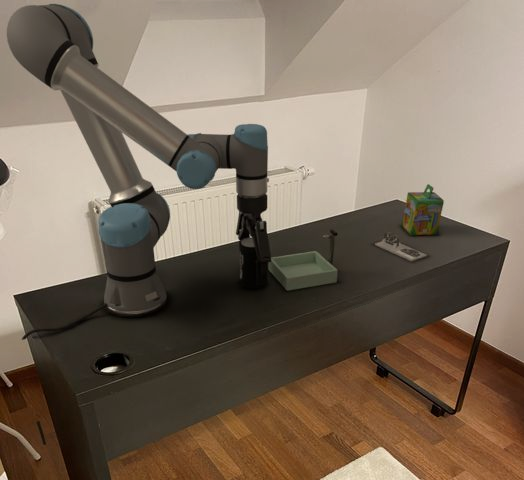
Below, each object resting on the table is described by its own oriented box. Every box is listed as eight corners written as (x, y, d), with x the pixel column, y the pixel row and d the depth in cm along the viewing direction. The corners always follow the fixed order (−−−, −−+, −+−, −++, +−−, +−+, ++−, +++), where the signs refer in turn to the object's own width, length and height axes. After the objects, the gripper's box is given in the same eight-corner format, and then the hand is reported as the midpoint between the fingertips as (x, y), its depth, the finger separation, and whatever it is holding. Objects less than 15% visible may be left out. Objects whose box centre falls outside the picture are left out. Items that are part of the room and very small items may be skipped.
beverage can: (254, 291, 137) (254, 248, 130) (235, 284, 140) (234, 242, 134) (269, 282, 141) (270, 240, 135) (250, 276, 145) (250, 234, 138)
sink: (286, 290, 138) (287, 278, 136) (268, 269, 148) (268, 257, 146) (336, 282, 142) (337, 270, 140) (315, 262, 152) (316, 250, 150)
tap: (322, 274, 146) (325, 234, 139) (318, 270, 148) (321, 230, 141) (334, 272, 147) (338, 232, 140) (330, 268, 149) (333, 229, 142)
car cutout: (374, 244, 164) (376, 231, 161) (389, 240, 167) (391, 226, 164) (411, 261, 153) (414, 247, 151) (426, 256, 157) (429, 242, 154)
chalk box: (401, 226, 177) (408, 181, 169) (427, 225, 178) (435, 181, 170) (410, 236, 170) (418, 190, 161) (437, 235, 170) (447, 189, 162)
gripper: (286, 208, 119) (283, 291, 130) (249, 178, 138) (250, 253, 150) (254, 212, 116) (255, 296, 128) (222, 181, 136) (225, 257, 148)
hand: (253, 273), depth 139 cm, fingers open, 13 cm apart
